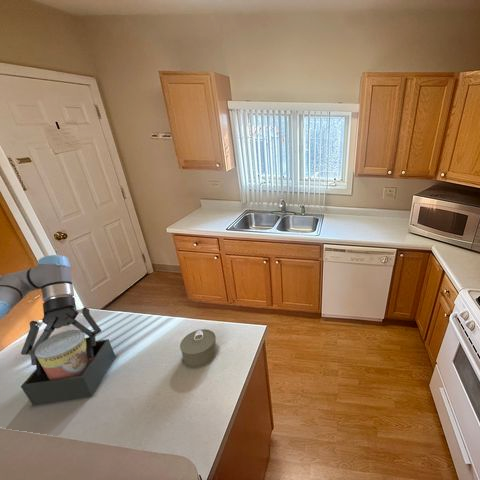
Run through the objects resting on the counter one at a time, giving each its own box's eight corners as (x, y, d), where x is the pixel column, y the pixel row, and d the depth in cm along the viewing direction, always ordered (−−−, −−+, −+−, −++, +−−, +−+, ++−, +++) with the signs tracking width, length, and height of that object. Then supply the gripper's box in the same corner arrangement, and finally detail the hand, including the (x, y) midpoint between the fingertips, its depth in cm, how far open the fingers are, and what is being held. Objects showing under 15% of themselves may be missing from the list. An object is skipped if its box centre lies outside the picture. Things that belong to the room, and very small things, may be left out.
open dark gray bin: (33, 405, 77) (20, 386, 74) (66, 363, 91) (57, 345, 87) (92, 396, 81) (82, 377, 77) (115, 356, 94) (108, 339, 91)
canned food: (63, 390, 77) (48, 362, 72) (41, 378, 81) (25, 350, 76) (103, 361, 87) (92, 335, 82) (82, 351, 90) (70, 325, 86)
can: (181, 371, 90) (177, 357, 87) (185, 346, 100) (182, 332, 97) (217, 363, 94) (214, 349, 91) (218, 339, 104) (215, 326, 101)
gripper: (106, 291, 94) (116, 350, 89) (14, 313, 82) (19, 383, 77) (100, 286, 88) (110, 349, 83) (0, 309, 76) (5, 385, 71)
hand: (67, 365), depth 80 cm, fingers closed on canned food, 11 cm apart
